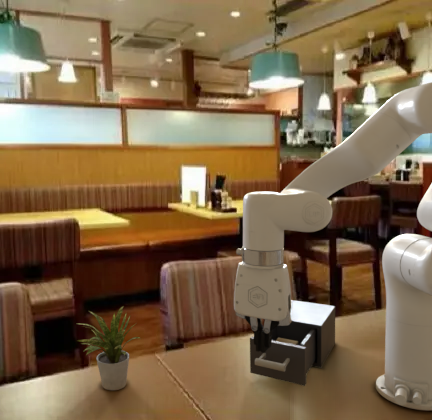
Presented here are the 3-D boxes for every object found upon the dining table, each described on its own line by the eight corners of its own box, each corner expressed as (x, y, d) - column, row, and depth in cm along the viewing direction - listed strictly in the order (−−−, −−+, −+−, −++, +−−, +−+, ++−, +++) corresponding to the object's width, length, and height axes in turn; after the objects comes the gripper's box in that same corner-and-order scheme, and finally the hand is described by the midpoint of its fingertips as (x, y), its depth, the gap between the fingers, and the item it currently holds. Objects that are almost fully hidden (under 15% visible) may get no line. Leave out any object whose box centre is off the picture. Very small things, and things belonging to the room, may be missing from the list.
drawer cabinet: (321, 368, 99) (321, 325, 98) (265, 355, 106) (265, 316, 105) (335, 343, 111) (335, 306, 110) (284, 334, 118) (284, 298, 117)
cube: (292, 368, 95) (292, 348, 94) (272, 364, 97) (271, 344, 97) (298, 360, 99) (298, 341, 98) (278, 356, 101) (278, 337, 100)
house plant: (92, 365, 105) (88, 298, 103) (149, 367, 103) (146, 298, 101) (72, 397, 91) (67, 320, 89) (138, 400, 89) (134, 321, 87)
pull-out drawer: (298, 397, 86) (298, 358, 85) (241, 382, 92) (241, 346, 91) (320, 359, 101) (320, 326, 100) (270, 349, 107) (270, 317, 106)
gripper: (218, 256, 85) (219, 348, 87) (297, 265, 77) (296, 366, 79) (234, 249, 91) (234, 335, 93) (308, 257, 83) (307, 350, 85)
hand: (262, 349), depth 86 cm, fingers closed
